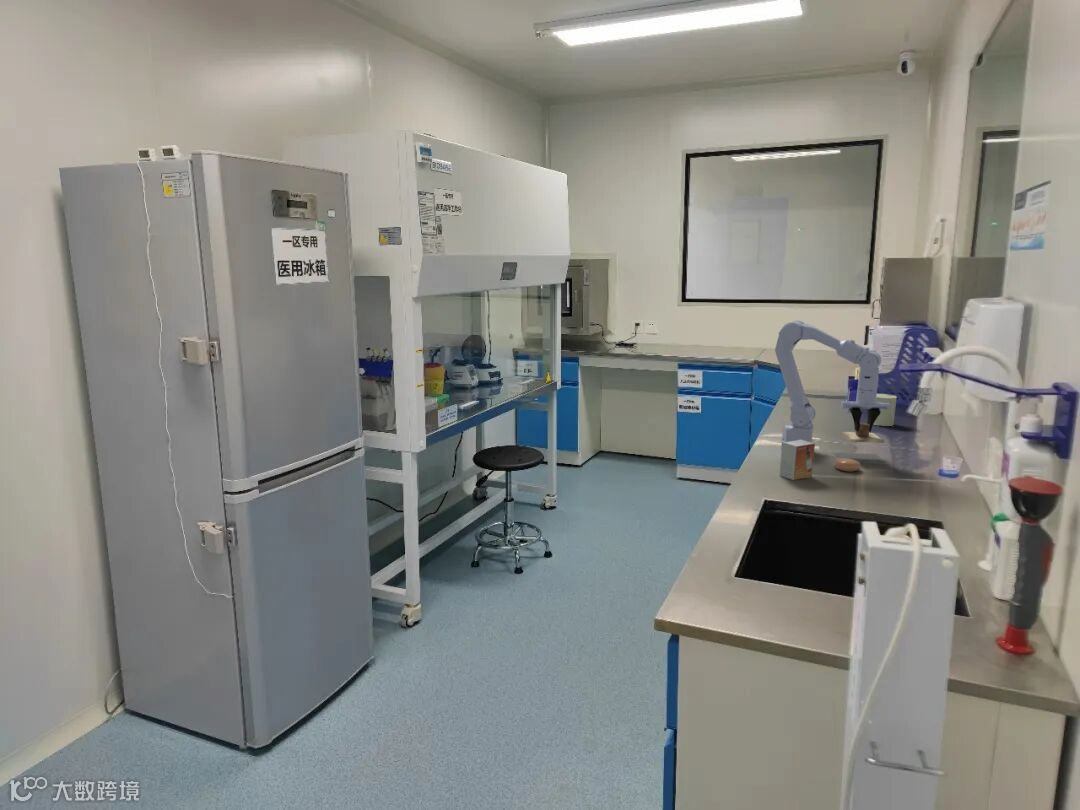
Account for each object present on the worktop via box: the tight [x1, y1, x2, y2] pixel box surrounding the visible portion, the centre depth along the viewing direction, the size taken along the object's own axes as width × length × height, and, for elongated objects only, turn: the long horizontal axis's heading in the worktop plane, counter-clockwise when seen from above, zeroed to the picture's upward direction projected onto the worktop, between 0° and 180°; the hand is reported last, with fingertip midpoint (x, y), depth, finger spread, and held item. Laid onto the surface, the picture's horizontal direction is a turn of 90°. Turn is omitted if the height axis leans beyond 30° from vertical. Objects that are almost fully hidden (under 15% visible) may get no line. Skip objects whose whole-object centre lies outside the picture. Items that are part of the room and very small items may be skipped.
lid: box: [840, 422, 885, 444], centre depth 223 cm, size 10×10×5 cm
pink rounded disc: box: [834, 458, 861, 473], centre depth 213 cm, size 7×7×3 cm
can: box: [873, 393, 898, 427], centre depth 274 cm, size 9×9×12 cm
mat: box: [831, 451, 890, 466], centre depth 225 cm, size 14×12×1 cm
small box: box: [779, 440, 816, 481], centre depth 207 cm, size 8×6×10 cm
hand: (862, 430), depth 223 cm, fingers closed on lid, 3 cm apart
